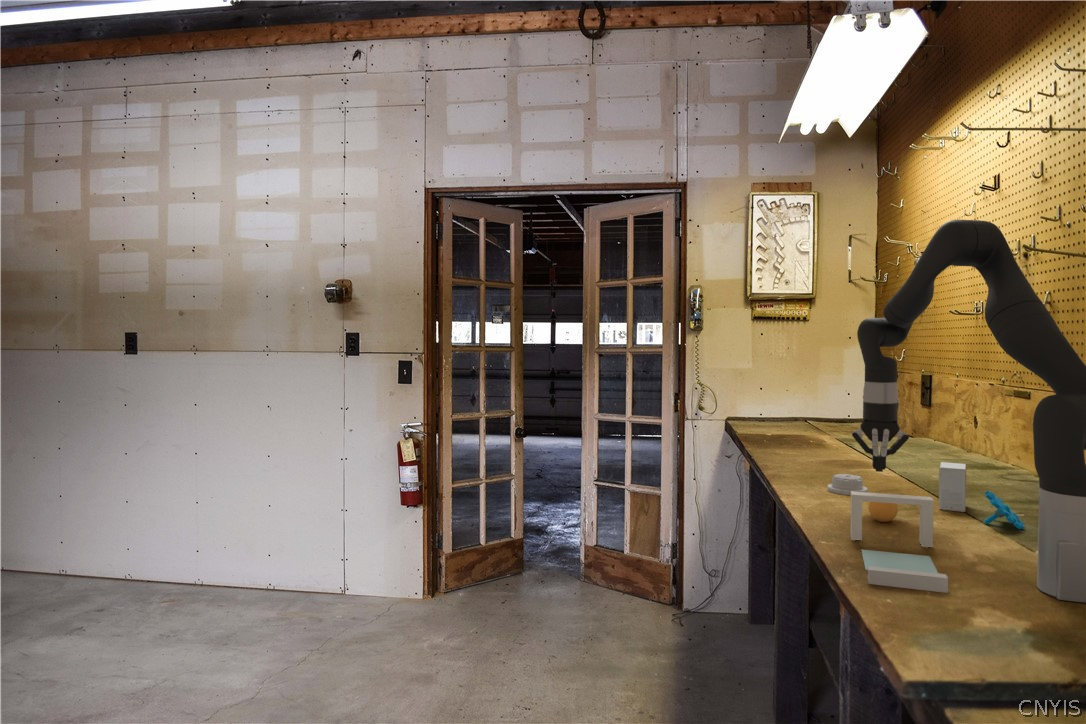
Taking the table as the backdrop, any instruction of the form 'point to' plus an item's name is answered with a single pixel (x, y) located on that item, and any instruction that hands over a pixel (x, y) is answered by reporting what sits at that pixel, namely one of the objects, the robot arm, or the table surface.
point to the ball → (883, 511)
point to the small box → (952, 486)
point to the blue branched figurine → (1002, 511)
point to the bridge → (923, 501)
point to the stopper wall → (908, 579)
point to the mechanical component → (846, 484)
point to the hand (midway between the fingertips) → (879, 471)
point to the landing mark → (898, 561)
